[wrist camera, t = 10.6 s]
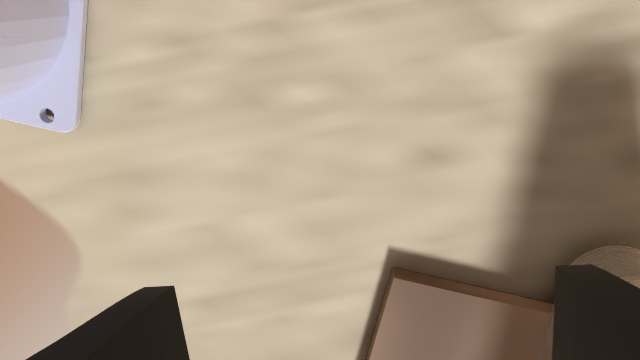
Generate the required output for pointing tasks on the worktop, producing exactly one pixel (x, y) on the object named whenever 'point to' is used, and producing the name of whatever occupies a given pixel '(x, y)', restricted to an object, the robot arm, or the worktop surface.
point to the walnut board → (455, 322)
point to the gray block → (613, 259)
